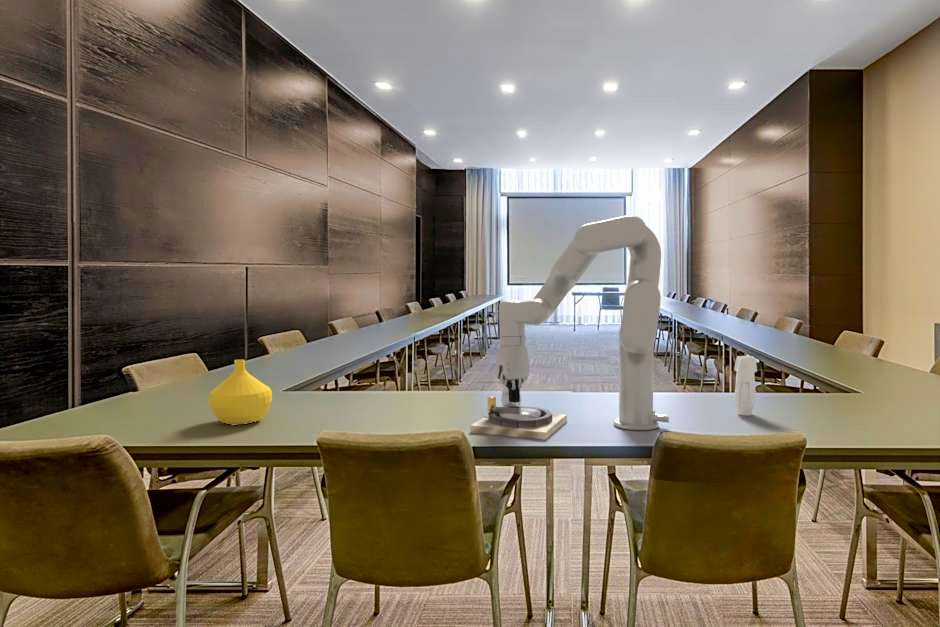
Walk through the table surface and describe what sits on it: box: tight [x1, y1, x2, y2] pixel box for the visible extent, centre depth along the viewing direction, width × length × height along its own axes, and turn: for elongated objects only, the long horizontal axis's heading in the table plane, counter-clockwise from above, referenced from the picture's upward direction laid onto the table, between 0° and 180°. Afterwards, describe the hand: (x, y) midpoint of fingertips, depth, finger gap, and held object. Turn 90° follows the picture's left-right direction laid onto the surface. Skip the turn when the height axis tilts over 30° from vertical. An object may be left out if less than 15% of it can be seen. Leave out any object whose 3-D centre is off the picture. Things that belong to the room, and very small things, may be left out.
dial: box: [487, 395, 541, 419], centre depth 183 cm, size 16×12×6 cm
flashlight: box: [733, 355, 758, 417], centre depth 194 cm, size 7×18×7 cm
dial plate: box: [469, 405, 568, 441], centre depth 183 cm, size 22×22×4 cm
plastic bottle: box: [500, 384, 522, 406], centre depth 208 cm, size 6×7×20 cm
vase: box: [208, 359, 273, 425], centre depth 193 cm, size 18×18×19 cm
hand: (514, 401), depth 190 cm, fingers closed
